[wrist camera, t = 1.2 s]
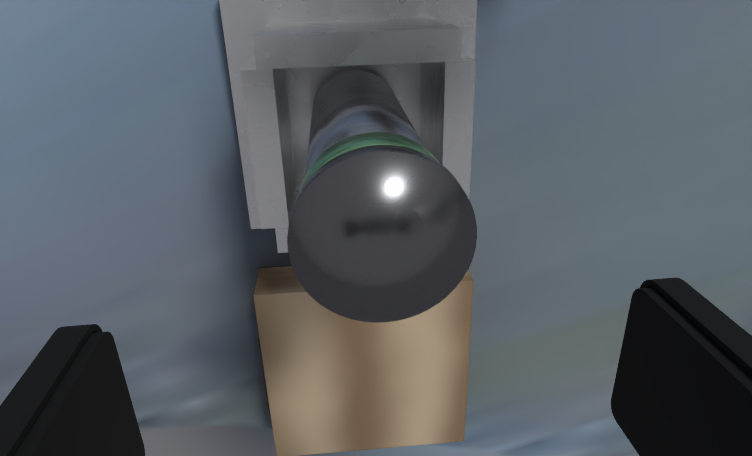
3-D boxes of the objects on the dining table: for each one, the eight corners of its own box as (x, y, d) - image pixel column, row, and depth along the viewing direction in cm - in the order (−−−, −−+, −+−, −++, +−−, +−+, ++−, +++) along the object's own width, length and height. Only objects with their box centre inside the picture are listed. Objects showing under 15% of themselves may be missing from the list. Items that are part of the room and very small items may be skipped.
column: (404, 61, 27) (481, 146, 13) (404, 159, 29) (472, 316, 15) (301, 65, 26) (277, 157, 13) (310, 164, 28) (296, 328, 15)
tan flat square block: (460, 255, 33) (473, 280, 30) (454, 407, 38) (464, 440, 35) (256, 268, 32) (249, 295, 29) (277, 422, 37) (273, 457, 34)
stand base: (472, -20, 26) (519, -18, 20) (463, 209, 31) (497, 268, 25) (221, -11, 25) (186, -7, 19) (253, 221, 30) (234, 285, 24)
